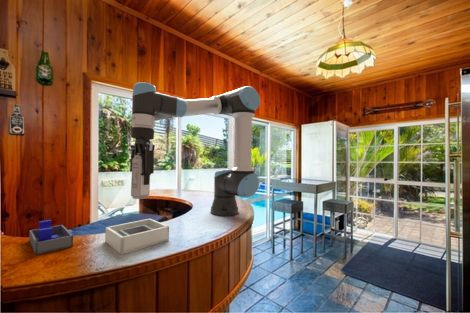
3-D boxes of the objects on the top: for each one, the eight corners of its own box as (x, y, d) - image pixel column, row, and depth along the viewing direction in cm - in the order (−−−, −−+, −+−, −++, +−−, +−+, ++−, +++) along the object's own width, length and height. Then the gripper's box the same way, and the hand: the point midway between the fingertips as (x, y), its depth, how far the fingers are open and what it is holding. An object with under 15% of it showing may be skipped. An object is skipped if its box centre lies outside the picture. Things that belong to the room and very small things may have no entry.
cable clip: (57, 246, 70) (58, 227, 70) (38, 250, 67) (39, 230, 67) (55, 235, 79) (56, 219, 79) (39, 238, 76) (39, 221, 76)
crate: (149, 231, 87) (150, 218, 87) (168, 240, 78) (169, 226, 78) (105, 241, 75) (105, 227, 75) (121, 254, 66) (121, 237, 66)
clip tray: (62, 234, 82) (62, 224, 82) (72, 246, 71) (73, 235, 71) (29, 240, 75) (29, 230, 75) (35, 255, 64) (35, 243, 64)
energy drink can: (150, 198, 76) (152, 155, 77) (131, 199, 73) (133, 154, 74) (147, 195, 82) (149, 155, 82) (130, 196, 79) (131, 154, 79)
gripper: (121, 128, 82) (118, 190, 81) (144, 123, 69) (141, 197, 68) (141, 130, 87) (139, 189, 87) (166, 127, 74) (163, 195, 74)
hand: (140, 192), depth 78 cm, fingers closed on energy drink can, 6 cm apart
